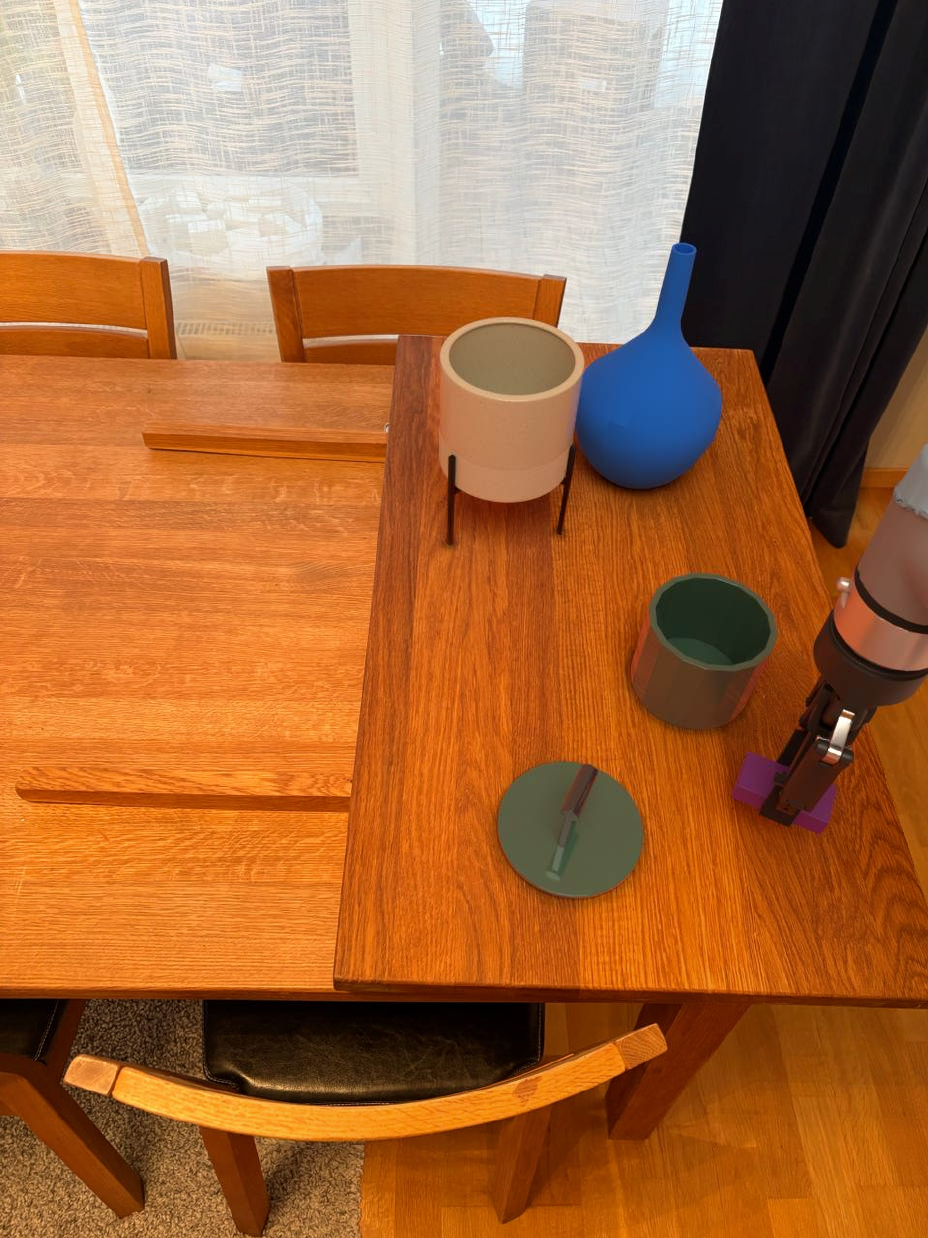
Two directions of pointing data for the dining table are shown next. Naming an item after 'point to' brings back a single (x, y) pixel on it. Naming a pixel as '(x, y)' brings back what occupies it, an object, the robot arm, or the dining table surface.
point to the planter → (508, 411)
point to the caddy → (701, 650)
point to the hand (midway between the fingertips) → (781, 796)
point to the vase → (650, 396)
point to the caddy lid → (570, 830)
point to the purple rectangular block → (758, 785)
